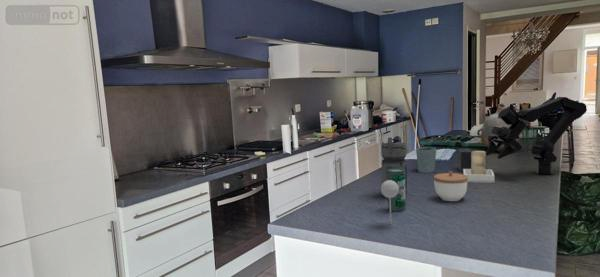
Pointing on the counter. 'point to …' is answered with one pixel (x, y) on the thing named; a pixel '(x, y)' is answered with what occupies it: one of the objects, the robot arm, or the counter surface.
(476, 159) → the canister
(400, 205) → the can
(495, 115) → the jug
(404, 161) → the beverage bottle
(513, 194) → the counter surface
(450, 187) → the lidded bowl
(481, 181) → the tray
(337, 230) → the counter surface
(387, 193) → the lollipop
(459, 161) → the small box
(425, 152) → the drinking glass
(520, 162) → the counter surface
